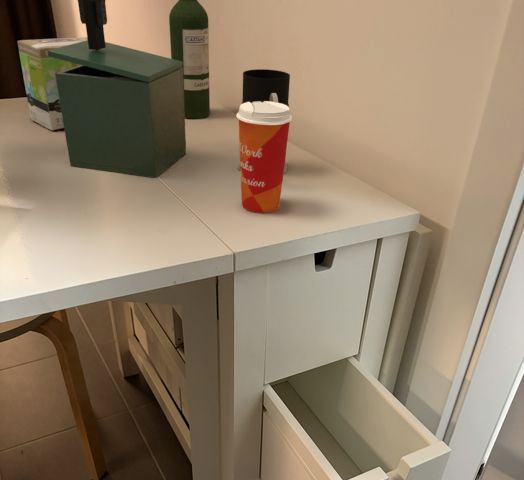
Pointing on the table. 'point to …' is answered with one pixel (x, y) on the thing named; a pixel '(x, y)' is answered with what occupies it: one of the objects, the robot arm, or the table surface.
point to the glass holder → (266, 88)
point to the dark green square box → (122, 120)
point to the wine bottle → (192, 54)
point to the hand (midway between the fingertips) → (97, 48)
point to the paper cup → (262, 153)
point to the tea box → (44, 78)
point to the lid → (118, 60)
